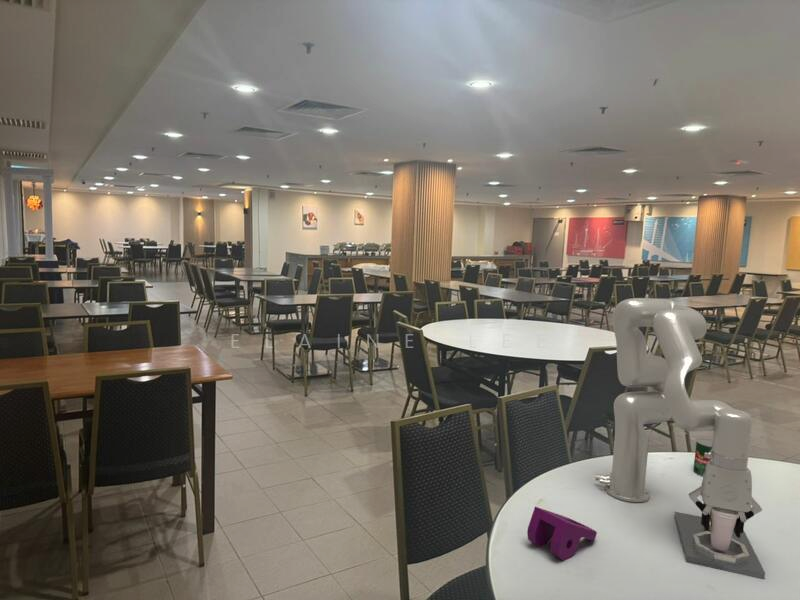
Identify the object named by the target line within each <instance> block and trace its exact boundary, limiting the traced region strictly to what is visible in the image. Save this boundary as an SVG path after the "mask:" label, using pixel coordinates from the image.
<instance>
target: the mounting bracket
mask: <svg viewBox="0 0 800 600" xmlns="http://www.w3.org/2000/svg"><path fill="white" fill-rule="evenodd" d="M597 534H598V532H597V531H596V530H595V529H593V528H591V527H590V526H587V525H585V524H583V523H580V522H578V521H576V520H574V519H571V518H569V517H568V516H564V515H562V514H559V513H556V512H552V511H550V510H547V509H544V508H540V507H537V506H534V509H533V512H532V515H531V517H530V521H529V523H528V527H527V534H526V535H527V539H528V540H529V542H531V543H532V544H533V545H536V546H538V547H540V548H542V547H544V546H546V545H548V544H549V543H550V550H551V553H552V555H553V556H555V557H557V559H560V560H562V561H564V562H565V561H567V560H569V559H571V558H572V557H574V555H575V553H576V552H577V550H578V547H579V544H580V542H581V538H584V539H587V540H589V541H590V540H591V541H595V540H596V536H597Z"/></svg>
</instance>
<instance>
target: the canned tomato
mask: <svg viewBox="0 0 800 600" xmlns="http://www.w3.org/2000/svg"><path fill="white" fill-rule="evenodd" d="M712 443H713V439H709V438H697V439H696V444H695V453H694V460H693V473H694V475H697V476H700V477H702V478H703V475H704V471H705V468H706V465H707V462H708V461H711V460H710V459H708V458H705V457H704V454H705V452H707V453H708V452H710V451H711V449H712Z"/></svg>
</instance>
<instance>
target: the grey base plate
mask: <svg viewBox="0 0 800 600" xmlns="http://www.w3.org/2000/svg"><path fill="white" fill-rule="evenodd" d="M709 515H710V511H709ZM701 518H702V516H700V515H696V514H690V513H684V512H678V511H674V519H675V520H674V521H675V523H676V528H677V533H678V536H679V539H680V542H681V543H680V544H681V547H682V551H683V554H684V558H685V562H686V563H689V564H694V565H698V566H702V567H703V566H704V567H707V568H713V569H717V570H722V571H725V572H732V573H733V574H734V573H735V574H739V575H745V576H749V577H754V578H758V579H762V580H765V578H766V572H765V570H764V568H763V566H762V564H761V561H759V558H758V556H757V554H756V552H755V550H754V548H753V546H752V543H751V541H750V540H749V538H748V536H747V534H746V532H745V531H744V529H743V533H741V534H740V538H739V537H737V536H736V535H735V532H734V531H733V535H732V538H731V542H730V545H729V549H728V550H719V549H717V548H715V547H713V546H712V545H711V521H710V524H709V531H705V529H704V526H703V525H701Z"/></svg>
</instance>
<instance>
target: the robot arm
mask: <svg viewBox="0 0 800 600" xmlns="http://www.w3.org/2000/svg"><path fill="white" fill-rule="evenodd" d="M611 319H612V320H611V322H612V328H613V332H614V336H615V342H616V363H617V364H616V367H617V378H618V380H619V383H620V384H621V385H622V386H624V387H627V388H647V390H646V391H628V392H623V393H620V394H619V395H617V397H616V398H615V399H614V402H613V413H614V415H613V416H614V421H615V422H614V441H613V443H614V444H613V453H612V465H611V466H612V467H611V472H610V473H609V475H608V474H606V475H603V474H599V473H595V481H599V484H600V485H601V484H603V485H604V490H605V492H606V493H607V494H609V495H610V496H611V497H612V498H613V497H614V498H615V499H617V500H621V501H623V502H629V503H644V502H647V501H649V499H650V495H651V493H650V492H649V491H648V490H647V489H646V488H645V486H646V476H647V475H646V474H647V466H648V455H649V444H650V443H649V435H648V433H647V431H646V430H645V427H644V425H647V424H662V423H666V422H668V421H669V420H671V418H672V420H673V422H674V423H675V425H676V426H677V427H678V428H679V429H681V430H683V431H686V432H703V431H704V432H705V431H708V432H709V431H710V432H711V431H712V432H713V434H712V435H713V436H712V440H713V443H712V449H711V451H710V452H708V453H707V452H705V454H704V457H705V458H708V459H710V460H711V461H708V462H707V465H706V468H705V471H704V475H703V477H702V481H701V485H700V486H699V487H697V488H696V489H694V490H692V491H691V492H690V493H688V498H689V499H690V500H691V501H692V502H693V503H694V504H695V506H696V507H697V508H698V509H699V510H700V512H701V517H702V518H701V525H703V526H704V529H705V531H709V524H710V515H709V511H710V510H711V508H712V507H716V508H721V509H726V510H732V511H737V512H738V513H739V518H737V521H736V524H735V528H734V532H735V535H736V536H737V537H739V538H740V534H741V533H743V530H744V528H745V523H746V522H747V520H749V519H751V518H753V517H754V515H756V514H759V513H761V512H762V511H763V508H762V507H761V505H760V504H759V503H758V502H757V501H756V499H755V498H753V480H752V472H751V470H750V469H749V468H748V463H749V462H748V461H749V452H750V444H751V443H750V442H751V433H752V428H753V427H752V425H753V419H752V416H751V414H749V413H748V412H746V411H744V410H741V409H737V408H733V407H732V406H730V405H729V404H728V403H725V402H723V401H721V400H719V399H718V400H714V399H709V400H708V399H704V400H703V399H701V400H700V399H699V400H697V399H696V400H691V399H690V397H689V395H688V392H687V388H686V385H685V383H686V381H685V380H686V377H687V374H688V373H689V372H691V371H693V370H695V369H697V368H698V367H699V366H701V364H702V363H703V357H702V354H701V353H700V350H699V347H698V345H697V343H696V341H695V340H700V339H702V338H703V337H705V336H706V333H707V332H708V331H707V329H708V326H707V321H706V318H705V317H704V315H702V314H701V313H700V312H699V311H697V310H696V309H693V308H692V307H689V306H687V305H684V304H682V303H680V302H677V301H675V300H673V299H669V298H648V297H647V298H646V297H635V298H634V297H633V298H627V299H624V300H622V301H619V303H618V304H617V305H616V306H615V307H614V308H613V313H612V318H611ZM640 327H647V328H652V329H653V331H654V335H655V337H656V339H657V342H658V345H659V346H660V349H661V351H662V355H663V356H664V357H662V356H660V355H649V354H648V348H647V347H648V345H647V340H646V337H645V335H644V334H643V332H642V331H641V330H640ZM699 496H701V499H702V501H701V500H700V499H699Z"/></svg>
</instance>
